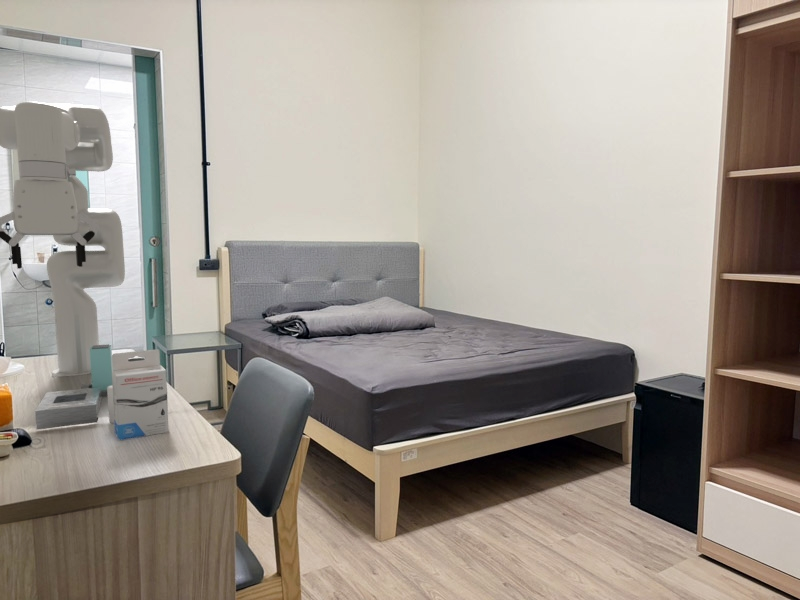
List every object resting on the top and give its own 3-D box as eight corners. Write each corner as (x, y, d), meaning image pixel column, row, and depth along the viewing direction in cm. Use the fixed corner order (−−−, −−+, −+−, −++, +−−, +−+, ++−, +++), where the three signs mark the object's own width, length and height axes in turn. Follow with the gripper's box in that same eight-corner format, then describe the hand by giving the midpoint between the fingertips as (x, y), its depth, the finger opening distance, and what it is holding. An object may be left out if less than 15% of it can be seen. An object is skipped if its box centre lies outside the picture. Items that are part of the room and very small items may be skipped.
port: (48, 408, 121) (46, 391, 120) (102, 402, 125) (100, 386, 124) (36, 429, 108) (35, 410, 108) (97, 422, 112) (95, 403, 112)
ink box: (118, 441, 102) (113, 358, 100) (114, 433, 106) (109, 353, 104) (170, 432, 106) (166, 352, 105) (164, 424, 110) (160, 348, 109)
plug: (94, 390, 131) (91, 345, 130) (114, 388, 133) (111, 343, 131) (92, 394, 127) (89, 348, 126) (113, 392, 129) (110, 347, 128)
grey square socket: (83, 393, 132) (82, 384, 132) (126, 388, 136) (126, 380, 136) (78, 403, 124) (78, 394, 124) (125, 398, 128) (125, 389, 128)
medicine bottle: (164, 418, 114) (161, 358, 113) (131, 429, 108) (128, 365, 107) (141, 412, 118) (138, 354, 116) (108, 422, 112) (104, 361, 110)
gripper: (94, 177, 115) (99, 264, 117) (-14, 173, 105) (-6, 268, 107) (98, 174, 108) (104, 266, 110) (-16, 169, 99) (-7, 270, 101)
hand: (50, 267), depth 109 cm, fingers open, 9 cm apart
